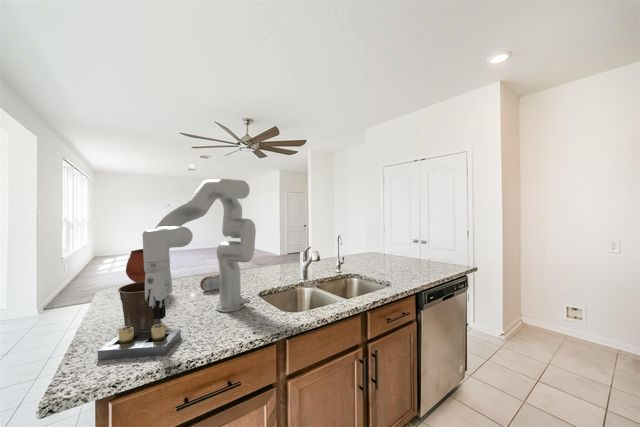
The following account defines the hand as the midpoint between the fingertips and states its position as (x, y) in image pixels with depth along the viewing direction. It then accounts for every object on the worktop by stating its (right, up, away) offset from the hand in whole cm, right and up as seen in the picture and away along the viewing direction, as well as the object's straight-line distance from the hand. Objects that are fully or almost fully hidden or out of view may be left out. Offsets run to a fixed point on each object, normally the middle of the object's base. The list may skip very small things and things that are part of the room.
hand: (159, 317), depth 91 cm
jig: (-5, -10, -1) cm, 11 cm away
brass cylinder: (0, -10, 0) cm, 10 cm away
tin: (-6, -9, +63) cm, 64 cm away
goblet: (-41, -9, +56) cm, 70 cm away
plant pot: (-16, -10, +17) cm, 25 cm away
